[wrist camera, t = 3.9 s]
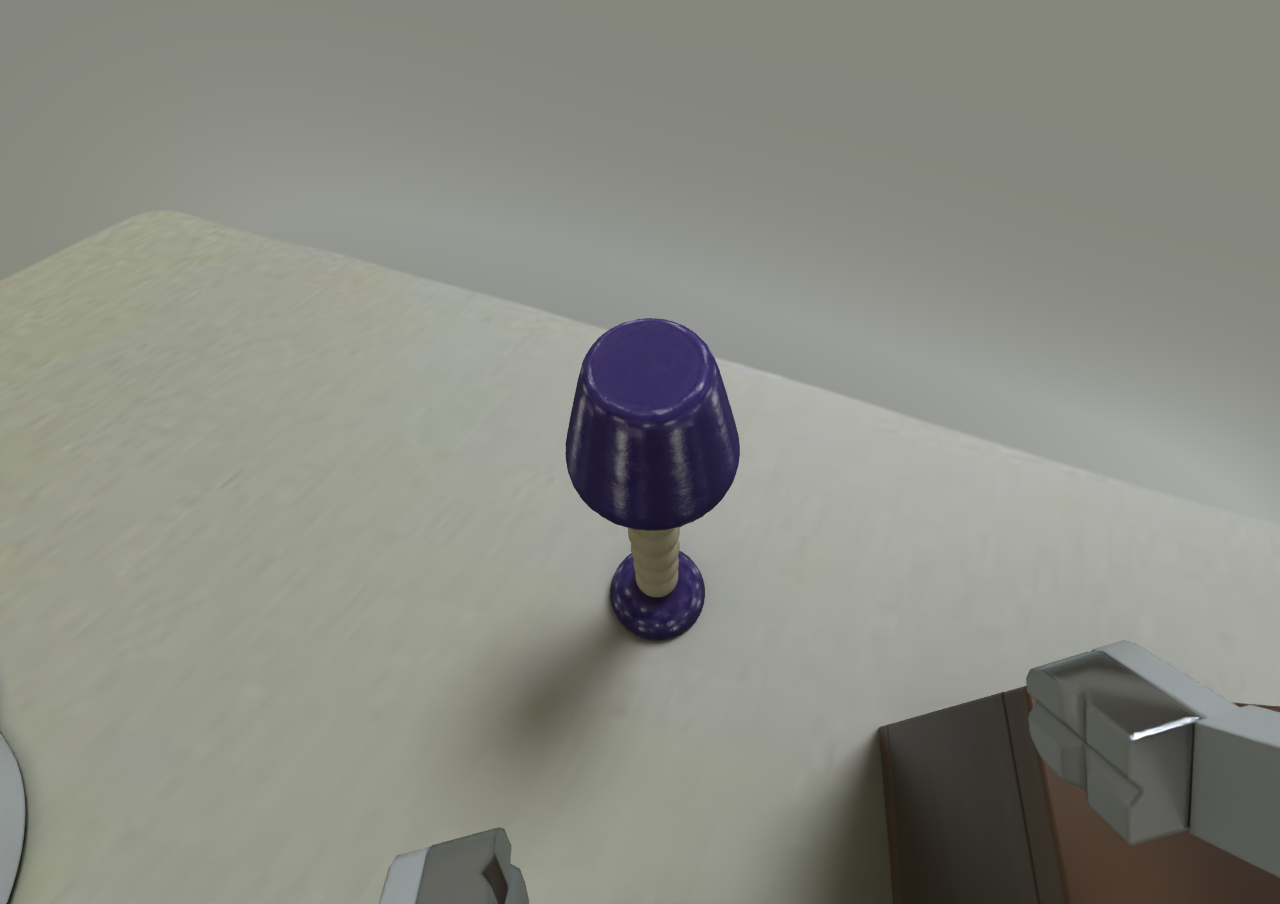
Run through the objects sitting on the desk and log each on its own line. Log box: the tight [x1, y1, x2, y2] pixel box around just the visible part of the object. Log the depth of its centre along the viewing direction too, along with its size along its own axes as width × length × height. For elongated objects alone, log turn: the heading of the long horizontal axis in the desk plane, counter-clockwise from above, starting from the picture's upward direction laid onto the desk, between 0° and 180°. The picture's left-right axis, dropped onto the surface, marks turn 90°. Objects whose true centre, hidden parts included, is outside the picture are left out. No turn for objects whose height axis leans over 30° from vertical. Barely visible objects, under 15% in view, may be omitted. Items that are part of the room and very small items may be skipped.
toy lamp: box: [566, 318, 740, 640], centre depth 20 cm, size 5×5×17 cm
